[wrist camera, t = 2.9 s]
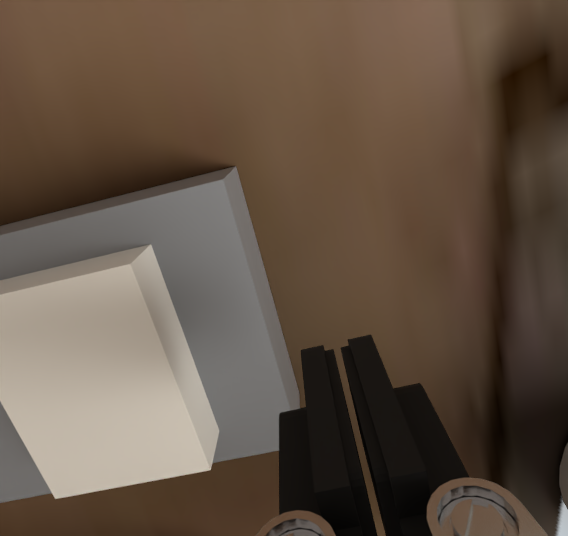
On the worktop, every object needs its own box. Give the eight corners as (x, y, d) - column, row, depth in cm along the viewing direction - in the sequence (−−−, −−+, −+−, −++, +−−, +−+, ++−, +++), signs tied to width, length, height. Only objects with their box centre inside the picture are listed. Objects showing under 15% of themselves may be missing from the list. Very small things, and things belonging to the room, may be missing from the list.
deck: (235, 166, 17) (223, 179, 14) (299, 392, 21) (301, 446, 17) (-100, 251, 18) (-185, 281, 15) (14, 450, 22) (-34, 509, 19)
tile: (150, 244, 15) (130, 263, 13) (219, 430, 17) (210, 470, 15) (-11, 282, 15) (-53, 307, 13) (80, 458, 18) (55, 498, 16)
